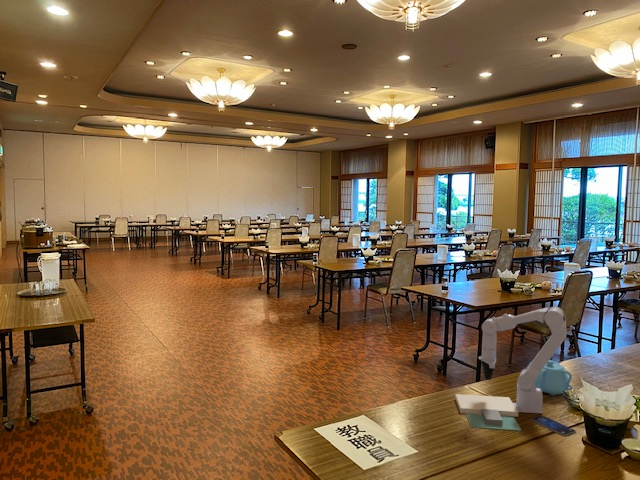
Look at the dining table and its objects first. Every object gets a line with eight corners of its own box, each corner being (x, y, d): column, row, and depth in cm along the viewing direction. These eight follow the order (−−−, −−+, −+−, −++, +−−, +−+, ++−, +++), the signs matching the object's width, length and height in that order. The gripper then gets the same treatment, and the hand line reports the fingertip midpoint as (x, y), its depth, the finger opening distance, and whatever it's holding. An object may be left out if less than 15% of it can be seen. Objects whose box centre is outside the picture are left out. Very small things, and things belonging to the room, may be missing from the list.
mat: (513, 417, 189) (513, 416, 189) (521, 430, 178) (521, 430, 178) (466, 414, 191) (466, 413, 191) (471, 427, 181) (471, 426, 181)
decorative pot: (533, 395, 211) (534, 365, 209) (525, 382, 226) (526, 353, 225) (573, 399, 207) (575, 368, 206) (562, 385, 223) (564, 356, 222)
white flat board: (508, 401, 204) (509, 397, 204) (518, 416, 190) (518, 411, 190) (455, 398, 207) (455, 394, 206) (460, 413, 193) (460, 408, 193)
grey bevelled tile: (497, 414, 191) (497, 409, 191) (502, 425, 182) (502, 420, 182) (481, 413, 192) (481, 408, 191) (486, 424, 183) (486, 419, 183)
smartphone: (564, 435, 174) (529, 418, 187) (564, 438, 174) (529, 420, 187) (577, 430, 178) (542, 414, 191) (577, 433, 178) (541, 416, 191)
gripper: (476, 342, 211) (474, 372, 212) (482, 352, 196) (481, 385, 197) (492, 342, 210) (491, 373, 211) (500, 353, 195) (499, 386, 196)
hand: (487, 379), depth 204 cm, fingers closed
